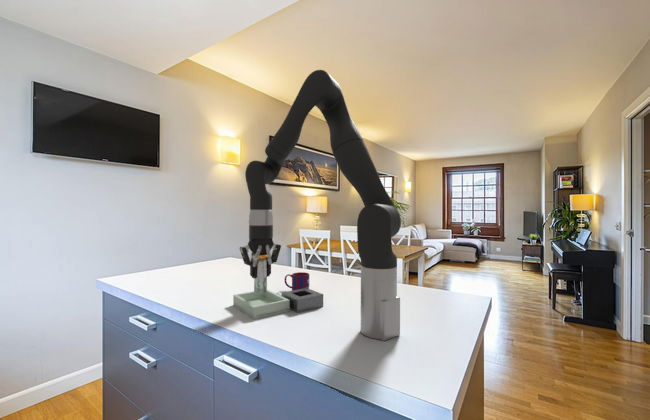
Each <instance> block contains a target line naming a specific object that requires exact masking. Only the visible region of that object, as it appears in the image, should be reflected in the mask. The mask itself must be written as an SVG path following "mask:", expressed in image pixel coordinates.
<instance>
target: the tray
mask: <svg viewBox="0 0 650 420" xmlns="http://www.w3.org/2000/svg"><path fill="white" fill-rule="evenodd" d="M232 301H233V303H232V305H233V306H234V307H236V308H237V309H239V310H240V312H241V311H242V313H244V314H245V315H247V316H248V317H250V318H251V319H252V320H256V319H261V318H265V317H268V316H274V315H277V314H282V313H286V312H290V311H291V309H290V300H289V299H286V298H284V297H282V296H281V294H280V295H279V294H278V293H275V292H273V291H272V290H269V289H267V292H265V293H255V292H254V290H253V291H247V292H243V293H237V294H233V300H232Z"/></svg>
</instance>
